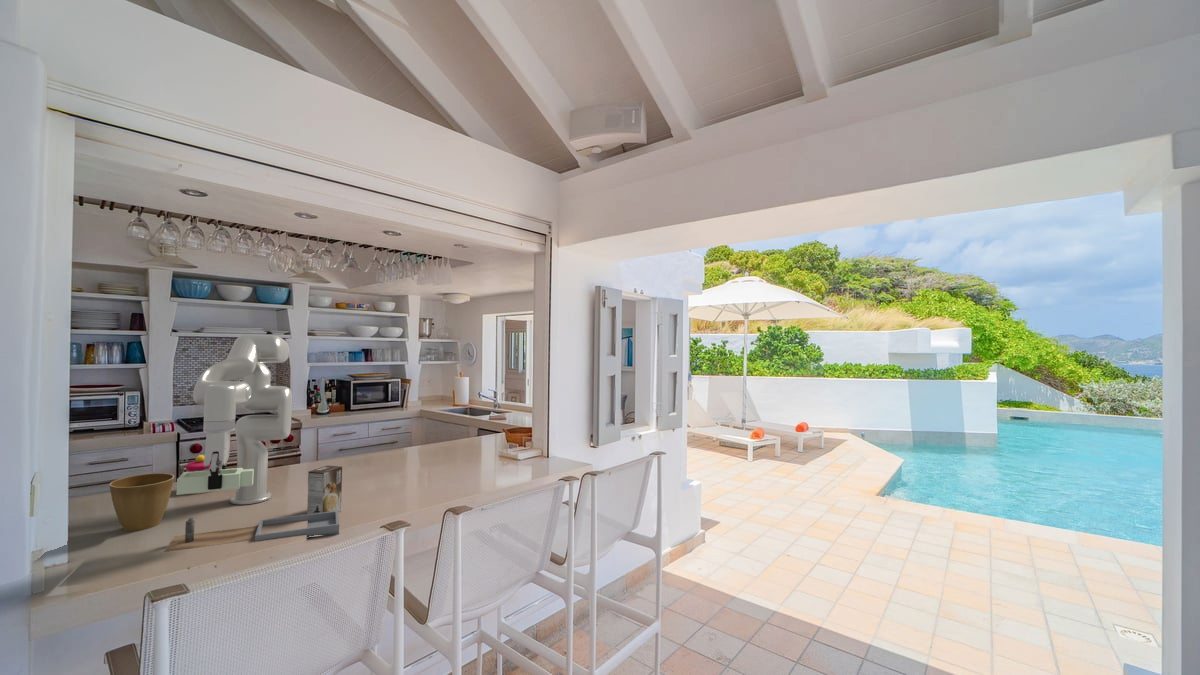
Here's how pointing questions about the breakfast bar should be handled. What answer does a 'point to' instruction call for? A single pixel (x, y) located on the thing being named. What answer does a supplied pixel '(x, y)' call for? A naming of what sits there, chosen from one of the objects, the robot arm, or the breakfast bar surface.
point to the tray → (316, 526)
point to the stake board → (208, 537)
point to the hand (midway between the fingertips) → (217, 484)
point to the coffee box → (324, 489)
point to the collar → (199, 480)
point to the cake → (197, 467)
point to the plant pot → (141, 499)
